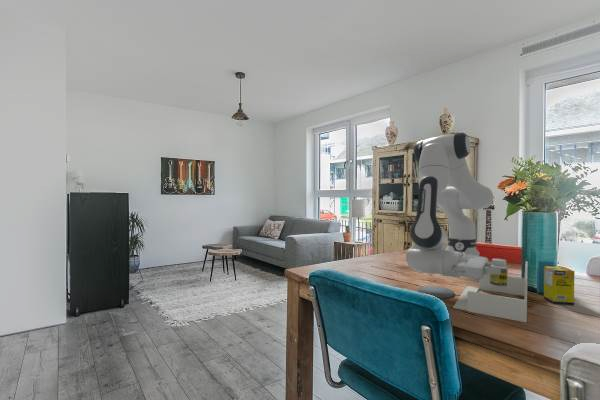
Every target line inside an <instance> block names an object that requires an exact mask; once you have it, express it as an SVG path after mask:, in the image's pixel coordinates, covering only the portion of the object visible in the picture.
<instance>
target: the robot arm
mask: <svg viewBox="0 0 600 400" xmlns="http://www.w3.org/2000/svg"><path fill="white" fill-rule="evenodd" d="M471 149H472V143H471V139H470V138H469V136H468V134H466V133H465V132H455V133H448V134H441V135H438V136H434V137H430V138H426V139H422V140H419V141H417V142H416V143H415V145H414V146H413V155H414V159H415V161H416V162H417V163H418V176H417V177H418V196H417V208H416V209H417V210H416V216H415V218H414V221H412V222H413V223H412V225H411V226H410V231H409V232H410V233H409V234H410V237H411V240H412V242H413V243H412V245H411V246H410V247H409V248H407V250H406V255H405V257H406V262H407V265H408V266H409V268H410V269H411V270H413V271H415V272H418V273H419V272H420V273H424V274H430V275H434V274H435V275H436V274H437V275H441V276H444V277H450V278H457V279H460V278H461V277H463V278H468V279H469V278H470V279H474V280H475V279H476V280H479V279H482V277H483V275H484V274H486V275H492V274H496V275H500V274H501V269H500V268H490V266H491V265H492V262H489V258H488V257H486V256H480V252H479V250H478V249H477V238H476V223H475V222H474V220H473V219H472V218H470V217H469V216H466V215H465V214H464V211H463V210H483V209H484V210H485V209H488V208H489V207H490V206H491V205H492V203H493V202H494V193H493V191H492V190H491V188H490V187H488V186H485V185H484V184H482V183H480V182H479V181H478V180H477V179H475V178H474V176H473V175H472V174H471V172H470V170H469V169H470V168H469V166H468V162H467V160H466V158H467V157H468V155H470V152H471ZM437 207H439V208H440V209H441V210H442V211H443V213H444V214H445V216H446V219H447V221H448V234H447V232H446V230H445V229H444V228H443V227H442V226H441V225H440V223H439V222H438V218H437V211H438V210H437Z"/></svg>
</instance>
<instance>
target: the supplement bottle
mask: <svg viewBox="0 0 600 400" xmlns="http://www.w3.org/2000/svg"><path fill="white" fill-rule="evenodd" d="M491 263H492V265H491V266H490V268H500V269H501V274H500V275H496V274H492V275H490V284H491V285H492V286H496V287H507V276H508V271H509V270H508V266H507V260H506V259H503V258H492V259H491Z"/></svg>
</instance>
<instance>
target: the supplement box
mask: <svg viewBox="0 0 600 400" xmlns="http://www.w3.org/2000/svg"><path fill="white" fill-rule="evenodd" d="M543 299H545V300H547V301H549V302H550V303H552V304H554V305H555V304H556V305H567V306H568V305H571V306H574V305H575V271H574V270H572V269H570V268H567V267H564V266H554V267H549V266H545V267H544V294H543Z"/></svg>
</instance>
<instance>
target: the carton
mask: <svg viewBox="0 0 600 400" xmlns="http://www.w3.org/2000/svg"><path fill="white" fill-rule="evenodd" d="M528 263H529V262H528V261H527V260H526V261H525V267H524V268H525V269H524V277H517V276H516V277H515V276H511V275H507V287H496V286H492V285H491V284H490V275H486V274H484V275H483V277H482V279H478V287H474V286H466V287H465V288H464V290H463V291H462V293H461V295H460V296H459V297H458V299H457V301H456V302H455V303H454V305H453V306H452V307H453V309H456V310H457V309H458V310H462V311H467V312H470V313H473V314H474V313H475V314H480V315H484V316H490V317H496V318H499V319H500V318H502V319H504V320H505V319H506V320H512V321H516V322H517V321H518V322H522V323H527V322H528V270H529V268H528V266H529V265H528ZM479 290H481V291H490V292H494V293H495V292H496V293H502V294H509V295H516V296H522V297H524V298H523V299H521V298H516V297H515V298H514V297H509V296H504V295H496V294H490V293H485V292H479Z"/></svg>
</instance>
